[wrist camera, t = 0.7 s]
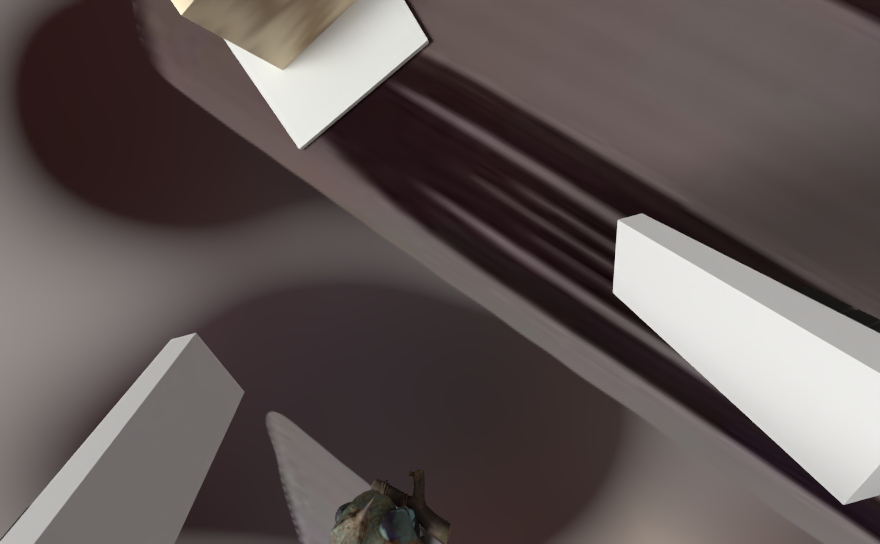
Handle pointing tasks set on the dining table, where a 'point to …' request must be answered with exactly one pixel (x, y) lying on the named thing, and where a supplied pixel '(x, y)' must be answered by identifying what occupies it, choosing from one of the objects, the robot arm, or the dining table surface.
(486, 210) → the dining table surface
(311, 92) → the rubber mat
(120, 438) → the robot arm
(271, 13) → the birch slab
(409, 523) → the bird figurine
